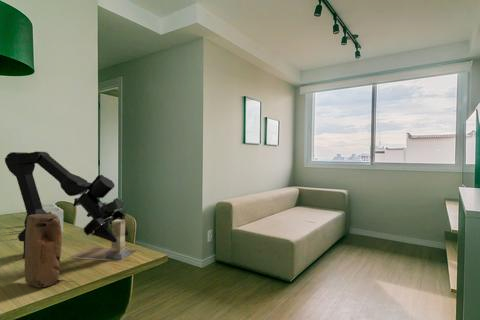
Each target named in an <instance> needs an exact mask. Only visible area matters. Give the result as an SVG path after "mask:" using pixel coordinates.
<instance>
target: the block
mask: <svg viewBox="0 0 480 320" xmlns="http://www.w3.org/2000/svg"><path fill="white" fill-rule="evenodd" d="M62 234H63V233H62V231H61V225H60V220H59V217H58V216H57V215H55V214H51V213H47V214H34V215H29V216H28V217H27V223H26V235H25V258H24V276H25V277H24V278H25V279H24V280H25V282H26V284H27V285H28V286H31V287H35V288H38V289H40V288H44V287H49V286H52V285H55V284H56V283H57V282H58V281H59V279H60V259H61V255H62V254H61V253H62V244H63V243H62V242H63V241H62Z"/></svg>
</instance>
